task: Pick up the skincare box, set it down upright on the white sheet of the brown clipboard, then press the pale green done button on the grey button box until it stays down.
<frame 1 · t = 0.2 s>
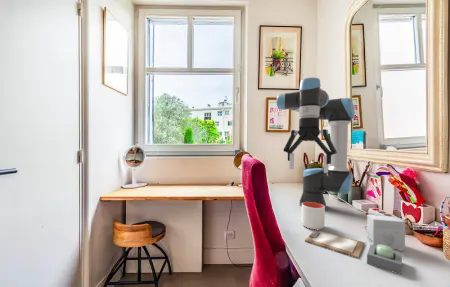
hand: (307, 170, 85), 28 cm above the table, fingers open, 13 cm apart
done button: (384, 252, 70), point 3 cm above the table, slide at 0.0 cm
clipboard: (334, 242, 83), on the table
skincare box: (384, 245, 82), on the table
cup: (312, 226, 99), on the table
button box: (384, 262, 70), on the table
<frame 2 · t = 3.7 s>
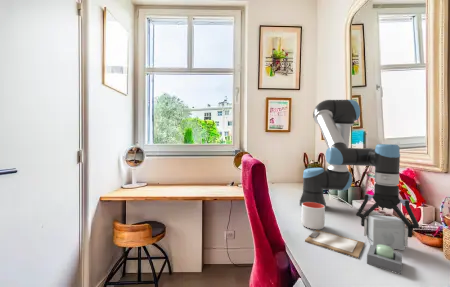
hand: (384, 239, 82), 2 cm above the table, fingers closed on skincare box, 12 cm apart
skincare box: (384, 245, 82), on the table, touching gripper
everything else where it was.
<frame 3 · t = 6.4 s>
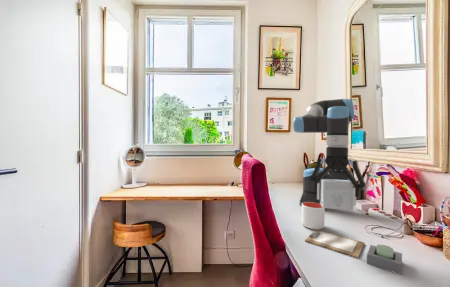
hand: (335, 201, 83), 16 cm above the table, fingers closed on skincare box, 12 cm apart
skincare box: (335, 207, 83), point 14 cm above the table, touching gripper
everything else where it was.
when the fingers open (4 cm above the table, at t = 9.3 s): skincare box stays where it is, resting on clipboard.
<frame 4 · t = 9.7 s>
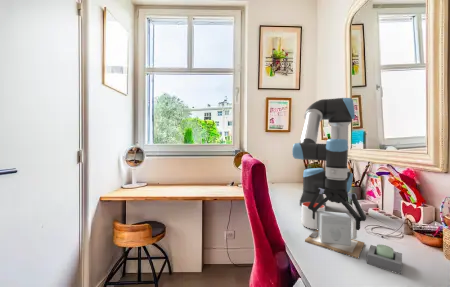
hand: (334, 232, 83), 4 cm above the table, fingers open, 13 cm apart
skincare box: (333, 240, 83), point 1 cm above the table, touching clipboard
everything else where it was.
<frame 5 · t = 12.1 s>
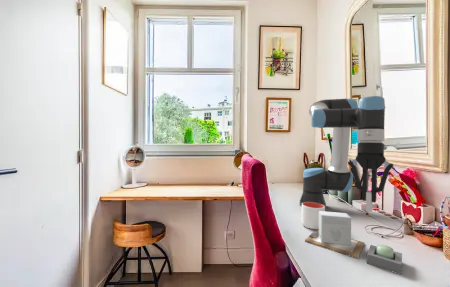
hand: (369, 210, 73), 16 cm above the table, fingers closed
nothing on the table moved.
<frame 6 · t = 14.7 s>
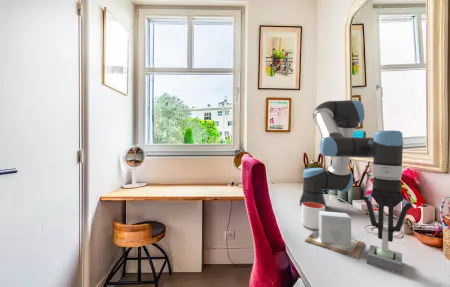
hand: (385, 249, 69), 4 cm above the table, fingers closed
done button: (384, 255, 70), point 2 cm above the table, slide at 0.9 cm, touching gripper
everything else where it was.
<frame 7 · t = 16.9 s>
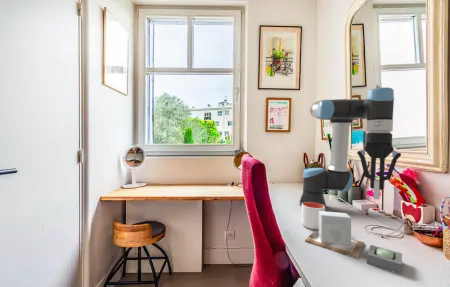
hand: (376, 198, 76), 20 cm above the table, fingers closed
done button: (384, 256, 70), point 2 cm above the table, slide at 1.3 cm
everything else where it was.
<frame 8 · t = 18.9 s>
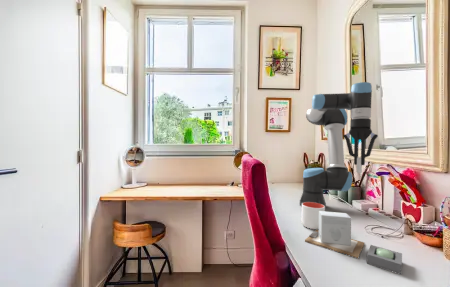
hand: (359, 172, 93), 26 cm above the table, fingers closed
nothing on the table moved.
at the end: skincare box inside the target area on the clipboard (0.3 cm from its centre), point 0.6 cm above the clipboard's base; skincare box tilted 0°; done button slide at 1.3 cm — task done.
